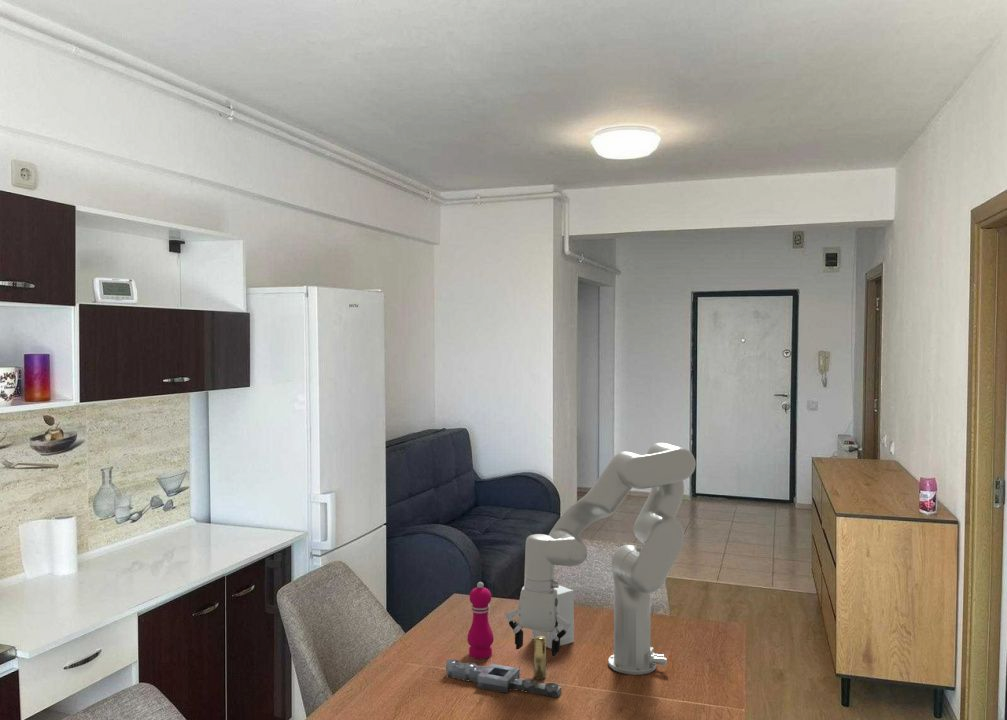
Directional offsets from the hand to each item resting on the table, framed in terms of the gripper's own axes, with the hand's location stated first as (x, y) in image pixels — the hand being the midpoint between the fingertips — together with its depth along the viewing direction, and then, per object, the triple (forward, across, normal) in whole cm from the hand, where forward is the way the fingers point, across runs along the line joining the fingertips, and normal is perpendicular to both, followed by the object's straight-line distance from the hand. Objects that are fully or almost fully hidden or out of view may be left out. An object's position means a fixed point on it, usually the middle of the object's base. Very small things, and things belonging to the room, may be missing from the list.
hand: (536, 651), depth 198 cm
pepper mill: (+7, +19, -8) cm, 22 cm away
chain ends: (+7, +7, +7) cm, 12 cm away
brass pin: (+7, -1, -1) cm, 7 cm away
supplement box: (+7, +4, -25) cm, 26 cm away
